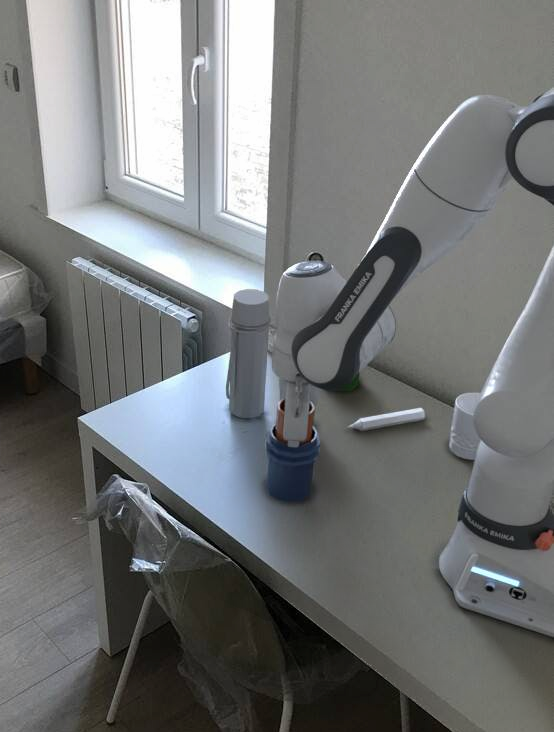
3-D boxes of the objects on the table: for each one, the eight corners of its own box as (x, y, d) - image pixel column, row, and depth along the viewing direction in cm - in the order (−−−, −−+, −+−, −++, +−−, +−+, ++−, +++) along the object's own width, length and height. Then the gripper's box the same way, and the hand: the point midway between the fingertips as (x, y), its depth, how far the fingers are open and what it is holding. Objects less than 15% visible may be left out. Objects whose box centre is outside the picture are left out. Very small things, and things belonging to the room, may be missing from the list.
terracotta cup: (316, 453, 145) (321, 404, 140) (297, 470, 142) (302, 420, 136) (286, 441, 149) (290, 392, 143) (267, 457, 145) (270, 408, 139)
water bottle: (245, 396, 174) (251, 284, 160) (273, 412, 169) (281, 297, 155) (212, 412, 170) (214, 298, 155) (239, 429, 164) (245, 313, 150)
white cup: (464, 432, 162) (474, 387, 156) (499, 452, 156) (511, 406, 151) (436, 446, 158) (446, 401, 152) (471, 467, 153) (482, 421, 147)
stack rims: (328, 446, 145) (330, 434, 144) (300, 473, 139) (301, 460, 138) (284, 429, 150) (285, 417, 148) (255, 453, 144) (256, 441, 143)
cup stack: (319, 485, 150) (326, 429, 143) (296, 508, 145) (301, 451, 138) (281, 469, 154) (286, 414, 147) (257, 490, 149) (261, 434, 142)
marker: (344, 434, 164) (419, 419, 167) (349, 435, 162) (425, 420, 165) (342, 421, 163) (418, 406, 167) (347, 421, 161) (423, 406, 164)
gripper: (320, 396, 126) (312, 470, 133) (320, 331, 142) (313, 400, 150) (277, 393, 127) (271, 467, 134) (282, 329, 143) (277, 398, 151)
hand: (293, 431), depth 142 cm, fingers closed on terracotta cup, 6 cm apart
